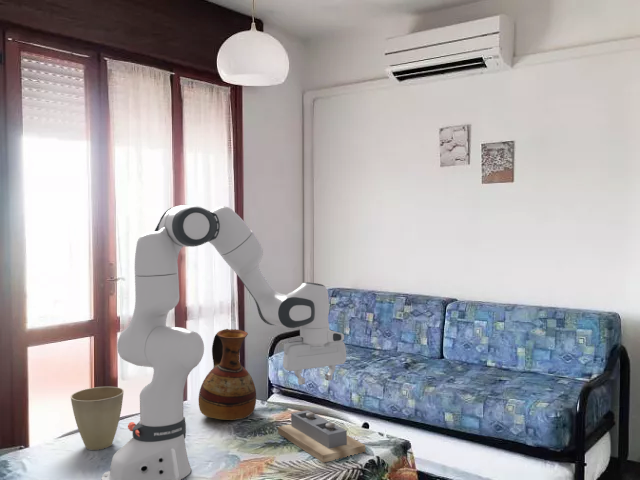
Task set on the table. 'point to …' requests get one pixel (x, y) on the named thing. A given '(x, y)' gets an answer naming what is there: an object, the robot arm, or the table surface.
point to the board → (317, 448)
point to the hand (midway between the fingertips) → (315, 382)
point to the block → (319, 430)
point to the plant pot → (97, 415)
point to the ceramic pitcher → (227, 380)
